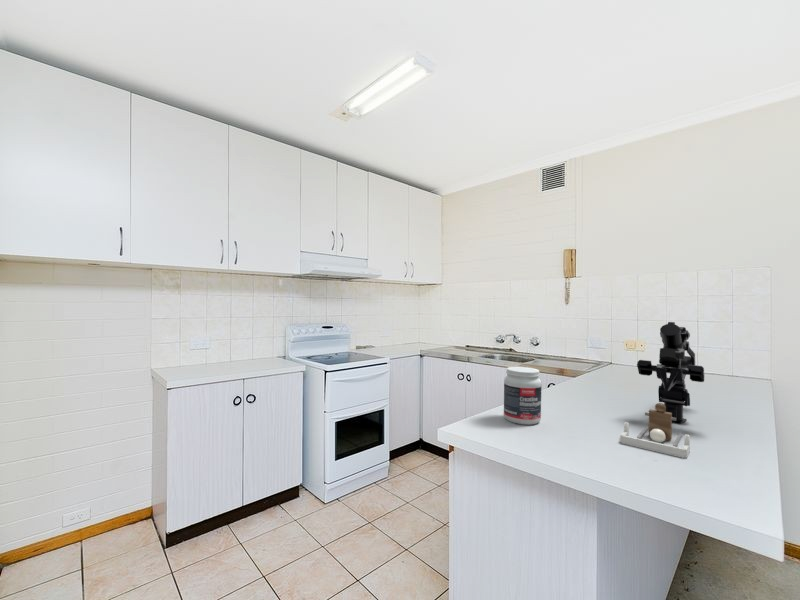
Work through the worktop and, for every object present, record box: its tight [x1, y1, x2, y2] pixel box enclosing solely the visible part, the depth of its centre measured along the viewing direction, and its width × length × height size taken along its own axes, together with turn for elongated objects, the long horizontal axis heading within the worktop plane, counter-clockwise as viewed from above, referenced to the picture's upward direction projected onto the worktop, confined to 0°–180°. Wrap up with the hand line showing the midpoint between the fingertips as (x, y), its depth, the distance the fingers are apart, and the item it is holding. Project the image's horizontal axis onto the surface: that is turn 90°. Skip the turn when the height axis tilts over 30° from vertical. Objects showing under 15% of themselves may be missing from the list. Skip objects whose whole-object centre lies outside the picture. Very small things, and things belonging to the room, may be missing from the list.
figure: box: [644, 402, 676, 442], centre depth 118 cm, size 4×8×11 cm, turn 47°
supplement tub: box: [503, 366, 542, 426], centre depth 136 cm, size 13×13×18 cm
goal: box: [619, 421, 691, 459], centre depth 110 cm, size 7×16×5 cm, turn 47°
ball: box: [649, 429, 666, 444], centre depth 115 cm, size 4×4×4 cm
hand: (666, 390), depth 127 cm, fingers closed
